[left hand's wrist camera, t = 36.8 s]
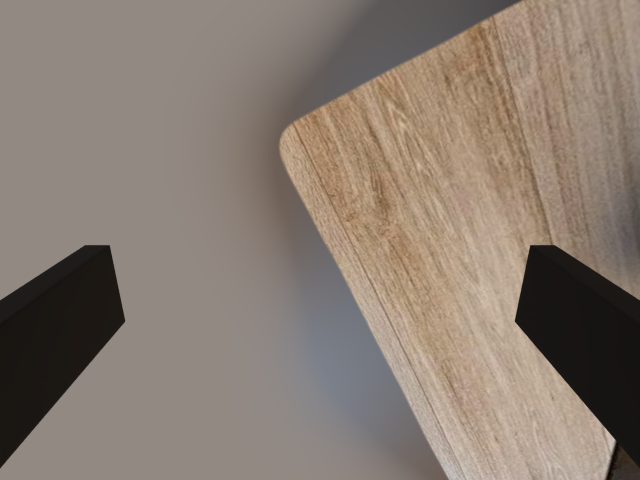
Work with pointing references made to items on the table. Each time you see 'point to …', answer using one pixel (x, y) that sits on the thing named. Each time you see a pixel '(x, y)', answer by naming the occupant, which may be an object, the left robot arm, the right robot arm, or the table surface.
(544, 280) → the left robot arm
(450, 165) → the table surface
